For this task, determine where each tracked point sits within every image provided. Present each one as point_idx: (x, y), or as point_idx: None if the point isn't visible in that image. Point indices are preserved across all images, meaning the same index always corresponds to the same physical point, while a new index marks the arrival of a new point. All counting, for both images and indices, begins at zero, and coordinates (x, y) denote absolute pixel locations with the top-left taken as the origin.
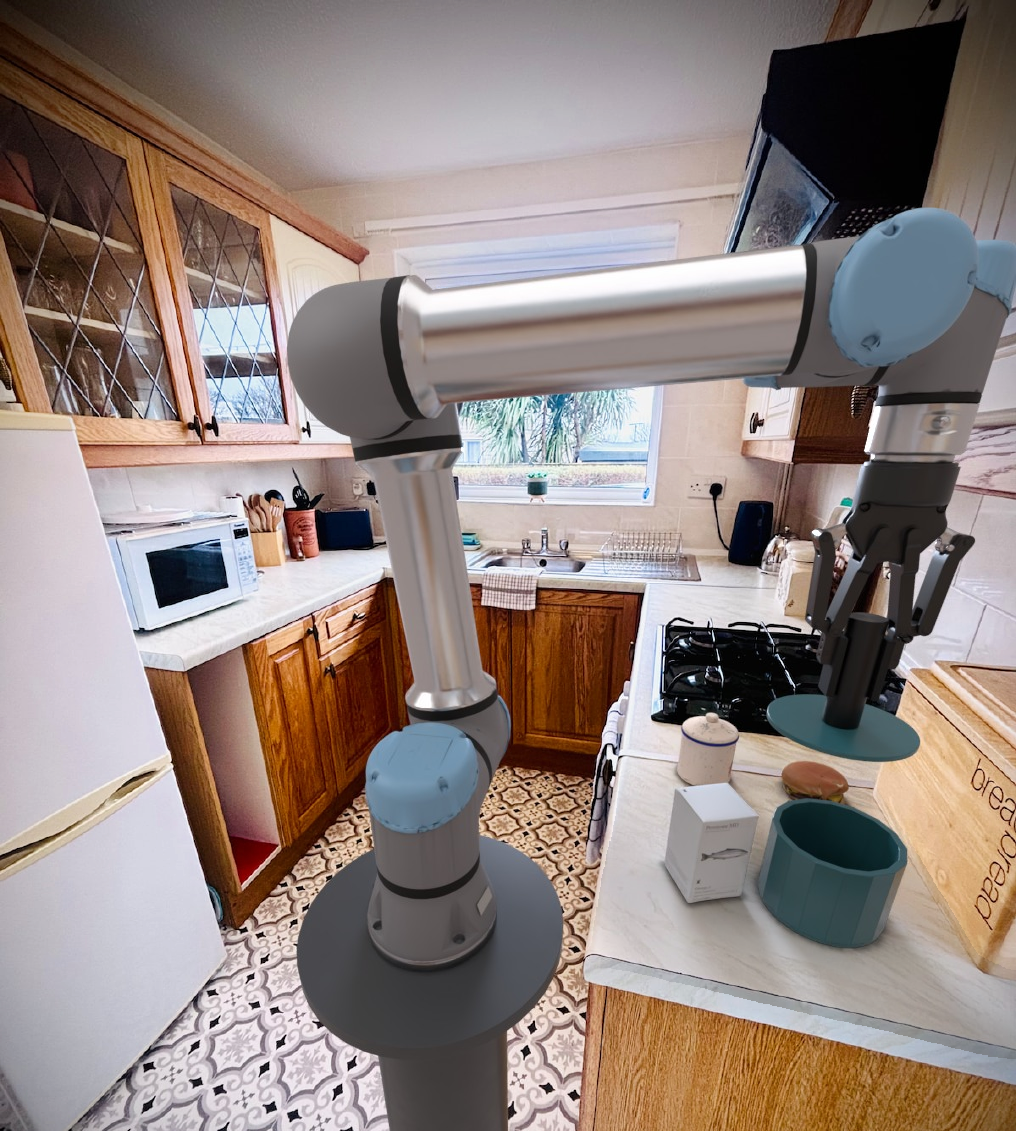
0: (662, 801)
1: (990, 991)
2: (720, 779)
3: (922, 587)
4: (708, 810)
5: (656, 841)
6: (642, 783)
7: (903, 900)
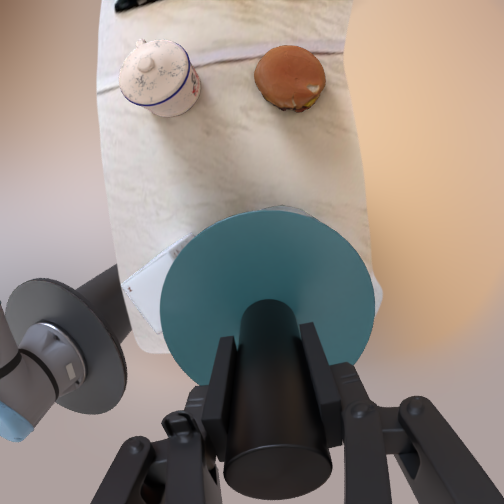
0: (136, 160)
1: (377, 295)
2: (187, 106)
3: (449, 496)
4: (157, 317)
5: (142, 228)
6: (114, 138)
7: (349, 224)
